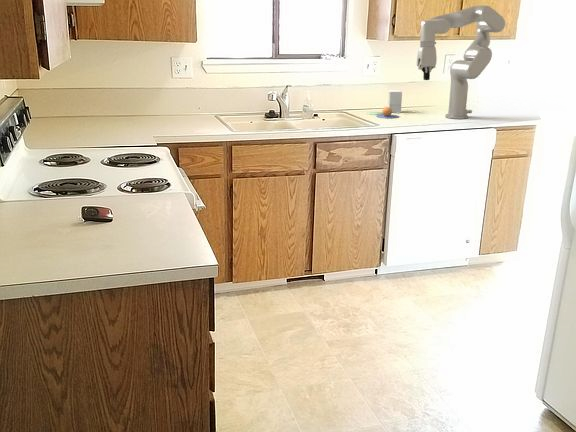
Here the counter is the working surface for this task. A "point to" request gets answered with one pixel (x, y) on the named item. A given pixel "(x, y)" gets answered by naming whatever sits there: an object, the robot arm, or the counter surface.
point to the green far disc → (375, 113)
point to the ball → (386, 111)
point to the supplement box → (395, 100)
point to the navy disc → (387, 116)
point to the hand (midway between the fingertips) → (426, 79)
